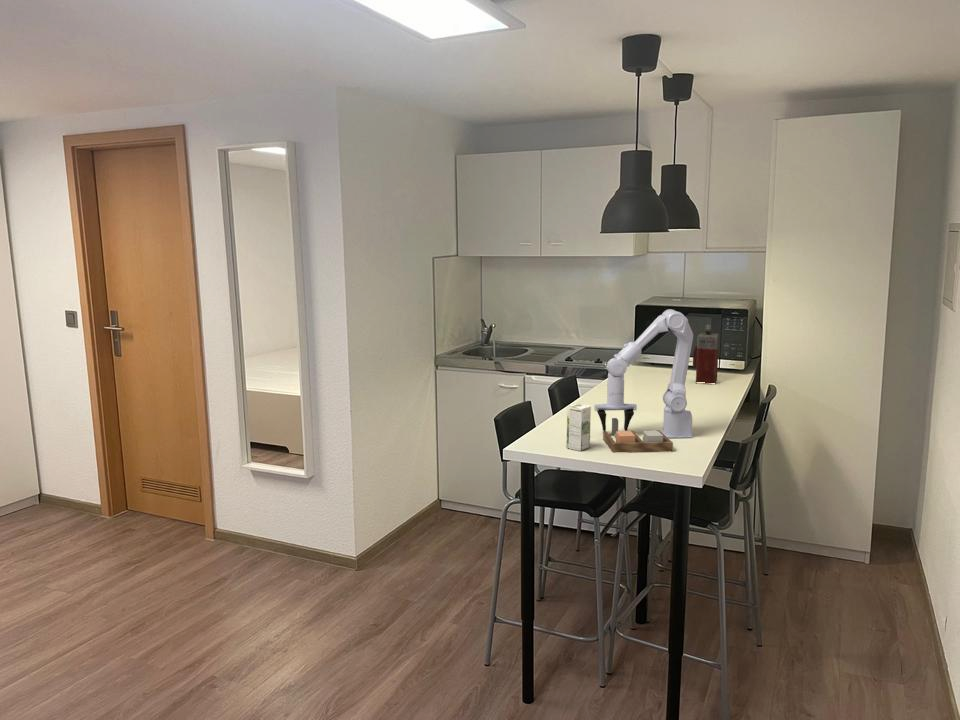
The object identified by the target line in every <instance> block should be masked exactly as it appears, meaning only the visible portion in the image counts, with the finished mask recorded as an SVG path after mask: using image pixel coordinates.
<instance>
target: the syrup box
mask: <svg viewBox="0 0 960 720" xmlns="http://www.w3.org/2000/svg"><path fill="white" fill-rule="evenodd" d="M591 410H592V407H591V405H587V404H584V403H575V404H572V405H569V406H567V410H566V411H567V412H566V415H567V416H566V418H567V419H566V449H567V448H569V450H572V449H573V450H572V451H577V452H578V451H579V452H582V451H584V450H587V449H589V448H590V447H591V442H590V441H591V416H592V415H591V414H592V413H591V412H592V411H591Z"/></svg>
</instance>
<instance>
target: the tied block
mask: <svg viewBox="0 0 960 720" xmlns="http://www.w3.org/2000/svg"><path fill="white" fill-rule="evenodd" d="M631 431H632V430H627V431H625V430H624V431H623V430H621V431H619V419H618V418H617V417H611V436H612V435H613V436H615V437H614V438H615V442H616V443H635V435H634V434H633V433H632V432H631ZM613 436H612V437H613Z"/></svg>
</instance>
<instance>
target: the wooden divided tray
mask: <svg viewBox="0 0 960 720" xmlns="http://www.w3.org/2000/svg"><path fill="white" fill-rule="evenodd" d="M630 431H631V432H632V433H633V434H634V435H635V443H616V440H614V439H613V436H612V435H610V433H609V432H608V431H603V430H602V440H603V442H604V441H605V442H604V443H605V444H606V446H607V445H608V446H607V448H608V449H609V450H610V449H611V450H610V451H611V453H612V452H628V453H660V452H659V451H673V449H674V448H673V447H674V442H673V441H672V440H670V438H667V437H666V436H665V435H664V434H663V433H662V432H661V431H662V430H660V429H657V430H655V431H659V432H660V433H661V434H662V435H663V442H643V439H641V438H640V436H639V435H638V434H637V433H636V432H635V431H634V430H630Z"/></svg>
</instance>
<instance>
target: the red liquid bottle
mask: <svg viewBox="0 0 960 720" xmlns="http://www.w3.org/2000/svg"><path fill="white" fill-rule="evenodd" d="M719 339H720V334H719V333H712V325H711V324H706V325H705V332H701V333H699V334H698V335H697V339H696V341H697V342H696V343H697V344H696V345H695V346H694V349H693V352H692V367H693V368H696V370H695V371H696V373H695V383H696V382H705V383H716V384H717V382H718V367H719V366H718V365H719V362H718V361H719V345H720V344H719V343H720V342H719V341H720V340H719ZM716 381H717V382H716Z"/></svg>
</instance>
